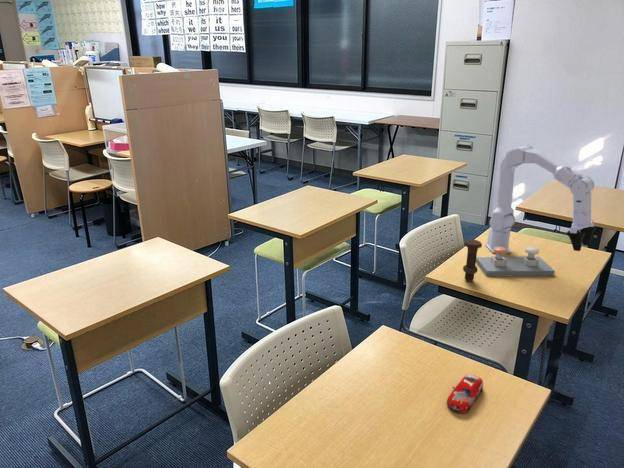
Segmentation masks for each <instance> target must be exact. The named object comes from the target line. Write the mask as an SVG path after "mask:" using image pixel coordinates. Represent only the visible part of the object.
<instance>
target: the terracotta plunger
mask: <svg viewBox="0 0 624 468" xmlns="http://www.w3.org/2000/svg"><path fill="white" fill-rule="evenodd" d="M493 252H494V253H493V254H496V255H495V256H496V258H499V259H502V258H503V257H504V255H507V249H506V248H504V247H494V250H493Z"/></svg>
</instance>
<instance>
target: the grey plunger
mask: <svg viewBox="0 0 624 468" xmlns="http://www.w3.org/2000/svg"><path fill="white" fill-rule="evenodd" d="M524 252H525V253H526V254H527V256H528V258H534V257H536V255H538V254H539V253H540V248H539V247H536V246H526V247H525V249H524Z"/></svg>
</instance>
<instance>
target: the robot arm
mask: <svg viewBox="0 0 624 468" xmlns="http://www.w3.org/2000/svg"><path fill="white" fill-rule="evenodd" d="M522 164H535V165H537V166H539V167H541V168H542V169H545V170H546V171H547V172H550V173H551V174H552V175H553V178H554V180H556V181H558V182H559V183H561V184H562V185H563V186H565V187H566V188H568V189H569V191H570V193H572V195H573V197H572V205H573V206H572V223H571V227H569V230H568V231H566V234H567V236H568V237H569V239H570V242H571V246H572V249H573V251H575V252H581V249H582V246H587V247H589V246H590V245H591V241H592V238H593V235H594V233H595V231H596V230H597V226H596V225H595V223H594V219H592V191H593V190H594V188H595V182H594V180H593V179H592V178H591V177H590V176H584V175H583V174H582V173H577V172H576V171H574V170H573V169H572V166H570V165H568V166H566V165H559V164H557V163H556V162H555V161H553V160H552V159H550V158H549V157H547V156H546V155H545V154H543V153H542V152H540V151H539V149H537V148H535V147H534V146H531V145H529V144H525V145H522V146H518V147H513V148H511V149H509V150H508V151H506V153H505V157H503V159H502V161H501V162H500V166H499V178H498V180H499V181H498V189H497V201H496V202H497V203H496V208H495V209H494V210H493V212H492V214H491V215H492V216H491V217H490V220H489V226H490V228H489V230H488V236H487V237H488V238H487V243H484V245H485V247H487V249H488V250H489V251H490V252H491V253H492V254H495V253H494V252H493V250H494V247H504V248H506V249H507V253H508V254H509V253H510V254H511V253H512V251H511V249H510V248H509V243H510V237H511V229H512V226H514V224H515V222H516V218H515V215H514V209H513V208H512V202H513V191H514V180H515V171H516V169H517V168H518V167H519V166H521V165H522Z"/></svg>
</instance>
